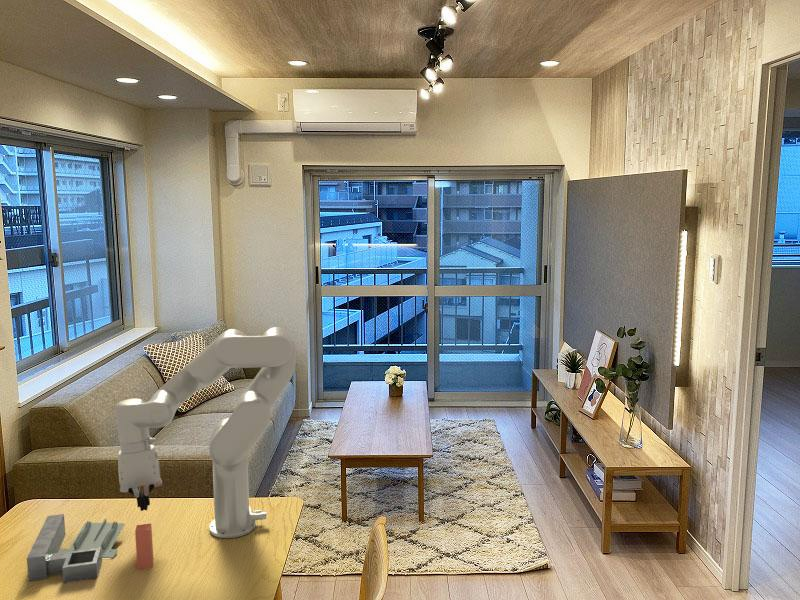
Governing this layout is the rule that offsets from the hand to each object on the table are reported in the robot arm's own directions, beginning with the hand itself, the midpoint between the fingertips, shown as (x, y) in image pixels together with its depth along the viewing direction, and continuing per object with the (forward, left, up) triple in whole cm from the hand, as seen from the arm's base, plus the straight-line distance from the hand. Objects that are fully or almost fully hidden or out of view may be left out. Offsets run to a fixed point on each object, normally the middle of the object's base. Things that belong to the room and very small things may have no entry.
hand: (144, 508), depth 177 cm
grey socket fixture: (+18, +6, -8) cm, 20 cm away
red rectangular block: (-1, +15, -8) cm, 17 cm away
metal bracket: (+12, +2, -9) cm, 15 cm away
